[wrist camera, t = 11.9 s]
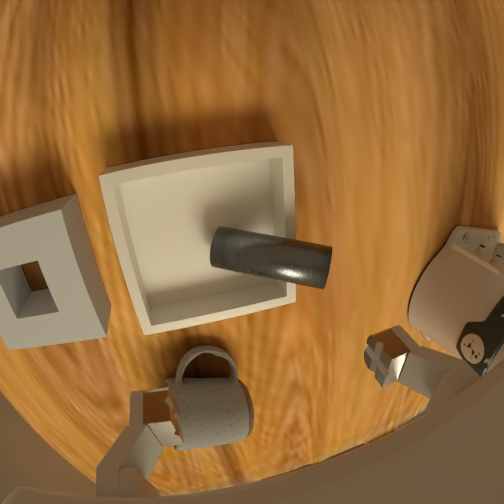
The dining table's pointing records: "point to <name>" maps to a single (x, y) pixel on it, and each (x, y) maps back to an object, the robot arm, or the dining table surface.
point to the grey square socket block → (50, 277)
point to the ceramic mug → (211, 404)
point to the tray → (198, 230)
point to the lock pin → (271, 257)
